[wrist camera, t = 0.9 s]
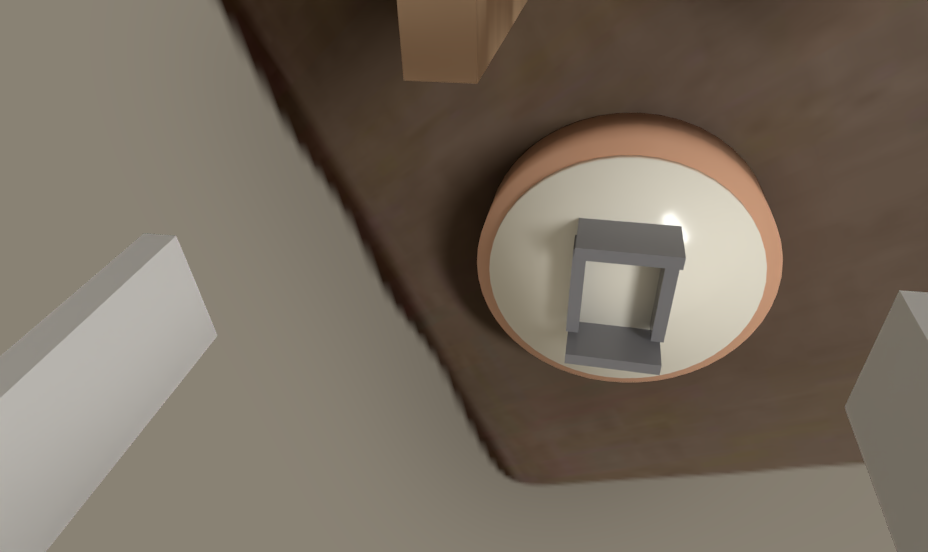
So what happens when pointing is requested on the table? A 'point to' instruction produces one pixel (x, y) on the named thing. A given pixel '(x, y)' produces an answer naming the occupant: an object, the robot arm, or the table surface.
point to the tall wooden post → (452, 37)
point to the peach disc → (629, 249)
